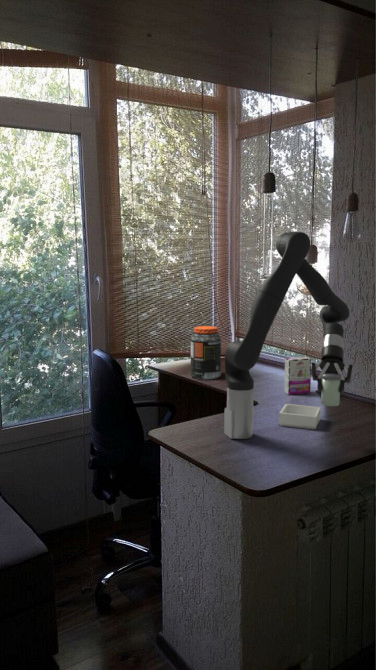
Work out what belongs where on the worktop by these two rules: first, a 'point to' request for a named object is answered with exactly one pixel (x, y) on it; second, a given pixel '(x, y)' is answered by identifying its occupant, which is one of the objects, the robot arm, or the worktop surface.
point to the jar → (330, 389)
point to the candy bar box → (297, 375)
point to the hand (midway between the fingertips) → (330, 390)
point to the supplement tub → (205, 353)
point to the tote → (299, 416)
